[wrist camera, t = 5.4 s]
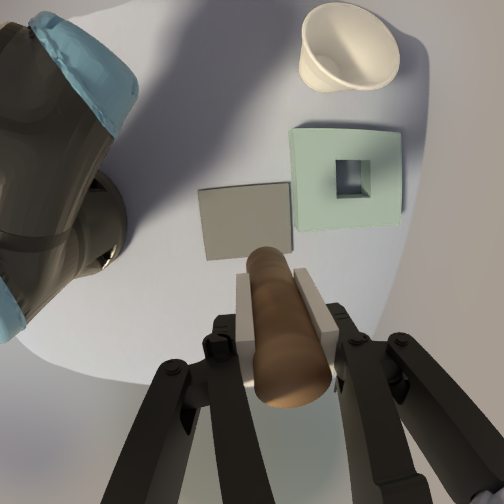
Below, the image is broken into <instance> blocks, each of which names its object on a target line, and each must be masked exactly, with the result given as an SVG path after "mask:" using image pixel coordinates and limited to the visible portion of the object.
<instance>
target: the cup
mask: <svg viewBox="0 0 504 504" xmlns="http://www.w3.org/2000/svg"><path fill="white" fill-rule="evenodd" d="M302 40H303V41H302V48H301V55H300V61H299V73H300V76H301V78H302V79H303V81H304V82H305V83H306V84H307V85H308V86H309V87H310V88H312V89H314V90H316V91H318V92H322V93H331V92H338V91H346V90H356V89H357V90H376V89H379V88H382V87H385V86H386V85H387V84H389V83H390V82H391V81H392V80H393V79H394V78H395V77H396V74H397V72H398V70H399V65H400V53H399V49H398V45H397V43H396V41H395V39H394V37H393V35H392V34H391V32H390V30H389V29H388V28H387V27H386V26H385V25H384V23H383V22H382V21H380V20H379V19H378V18H377V17H376V16H374V15H373V14H371V13H370V12H368V11H367V10H365V9H363V8H360V7H358V6H355V5H352V4H348V3H341V2H333V3H326V4H322V5H320V6H318V7H316V8H314V9H313V10H312V11H311V12H309V13H308V15H307V16H306V18H305V19H304V22H303V25H302Z"/></svg>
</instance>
